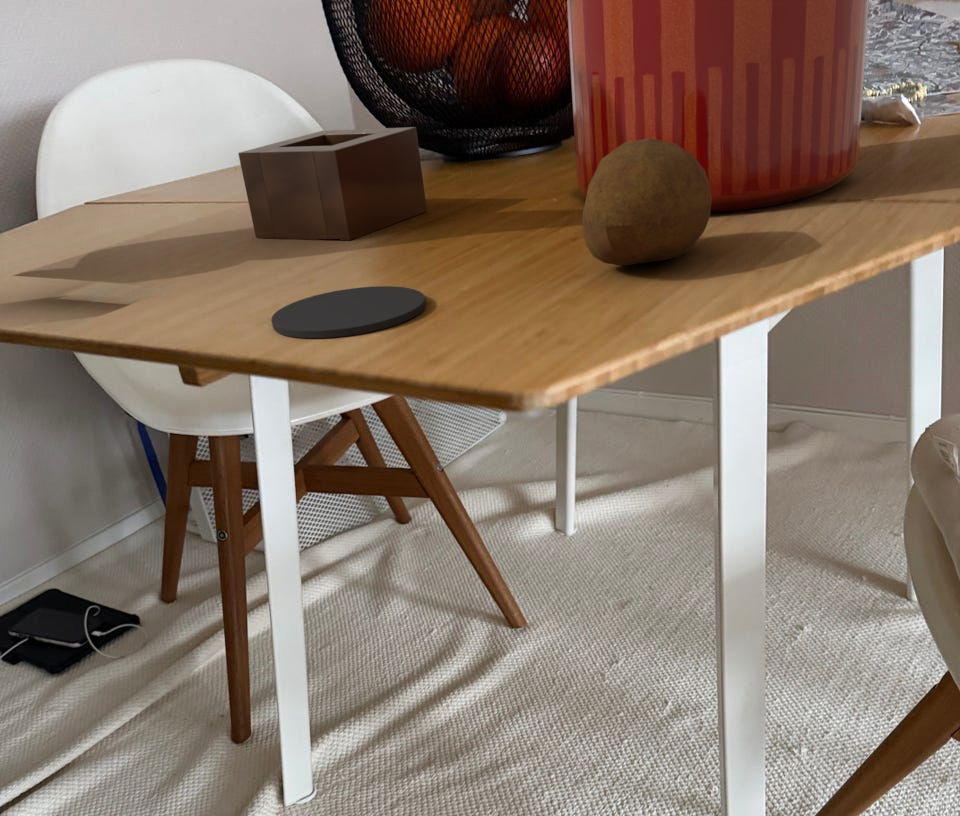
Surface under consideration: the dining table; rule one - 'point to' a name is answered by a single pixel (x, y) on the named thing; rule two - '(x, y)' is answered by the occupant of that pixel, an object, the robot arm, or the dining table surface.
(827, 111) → the planter
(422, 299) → the coaster
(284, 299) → the dining table surface
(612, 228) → the potato
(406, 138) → the holder
